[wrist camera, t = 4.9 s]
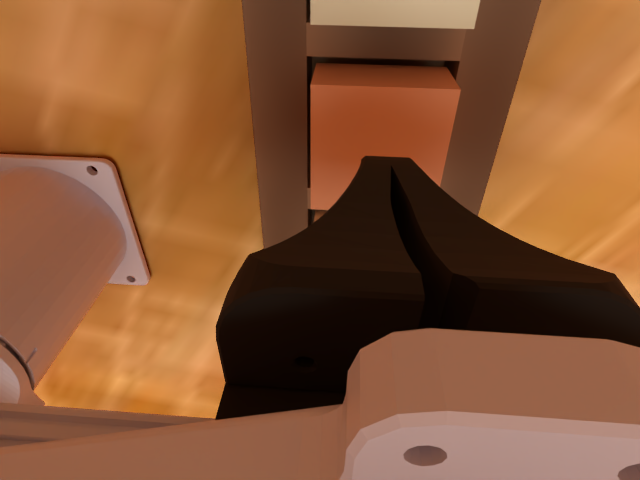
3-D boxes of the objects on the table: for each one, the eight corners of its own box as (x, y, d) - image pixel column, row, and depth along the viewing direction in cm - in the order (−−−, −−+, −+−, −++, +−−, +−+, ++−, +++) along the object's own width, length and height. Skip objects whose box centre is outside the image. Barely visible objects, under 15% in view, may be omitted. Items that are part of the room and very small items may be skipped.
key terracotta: (315, 176, 17) (310, 209, 15) (316, 62, 14) (310, 84, 12) (425, 181, 17) (433, 215, 15) (446, 66, 14) (461, 89, 12)
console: (278, 273, 24) (269, 312, 21) (212, -736, 8) (151, -1014, 6) (436, 282, 23) (446, 323, 21) (699, -764, 8) (857, -1076, 5)
